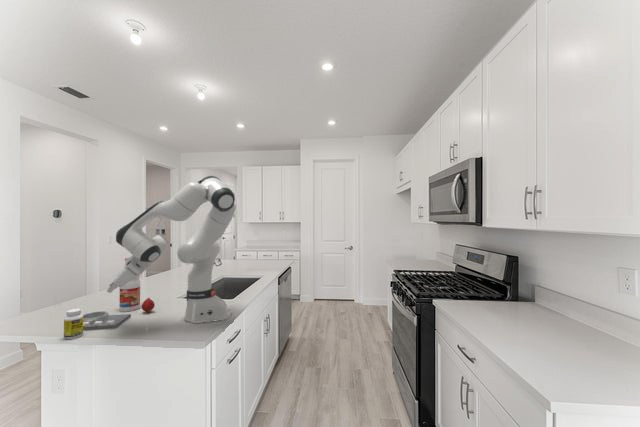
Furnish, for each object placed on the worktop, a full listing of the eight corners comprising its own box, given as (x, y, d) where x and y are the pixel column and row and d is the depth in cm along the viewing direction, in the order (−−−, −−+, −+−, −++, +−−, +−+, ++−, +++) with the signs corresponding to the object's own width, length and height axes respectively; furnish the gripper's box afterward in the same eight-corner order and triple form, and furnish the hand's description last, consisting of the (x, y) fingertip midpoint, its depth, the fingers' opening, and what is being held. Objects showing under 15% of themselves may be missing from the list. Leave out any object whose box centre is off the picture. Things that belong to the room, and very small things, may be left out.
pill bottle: (71, 340, 118) (72, 313, 118) (59, 339, 119) (59, 312, 119) (86, 334, 124) (87, 308, 124) (75, 333, 125) (75, 307, 125)
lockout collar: (111, 315, 142) (111, 310, 142) (100, 323, 132) (100, 318, 132) (88, 317, 140) (88, 312, 140) (75, 325, 130) (75, 319, 130)
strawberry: (140, 315, 148) (140, 299, 148) (143, 311, 153) (143, 296, 153) (152, 314, 149) (152, 298, 149) (155, 310, 155) (155, 295, 155)
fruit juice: (143, 306, 161) (144, 256, 162) (132, 312, 152) (132, 259, 152) (127, 306, 162) (128, 256, 162) (115, 311, 152) (115, 259, 153)
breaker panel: (130, 317, 145) (130, 311, 145) (115, 328, 130) (115, 322, 130) (90, 319, 141) (90, 313, 141) (70, 331, 127) (70, 325, 127)
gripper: (131, 257, 139) (105, 279, 134) (129, 264, 122) (100, 289, 117) (142, 266, 142) (117, 288, 136) (141, 273, 124) (113, 299, 119)
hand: (109, 289), depth 126 cm, fingers open, 8 cm apart
